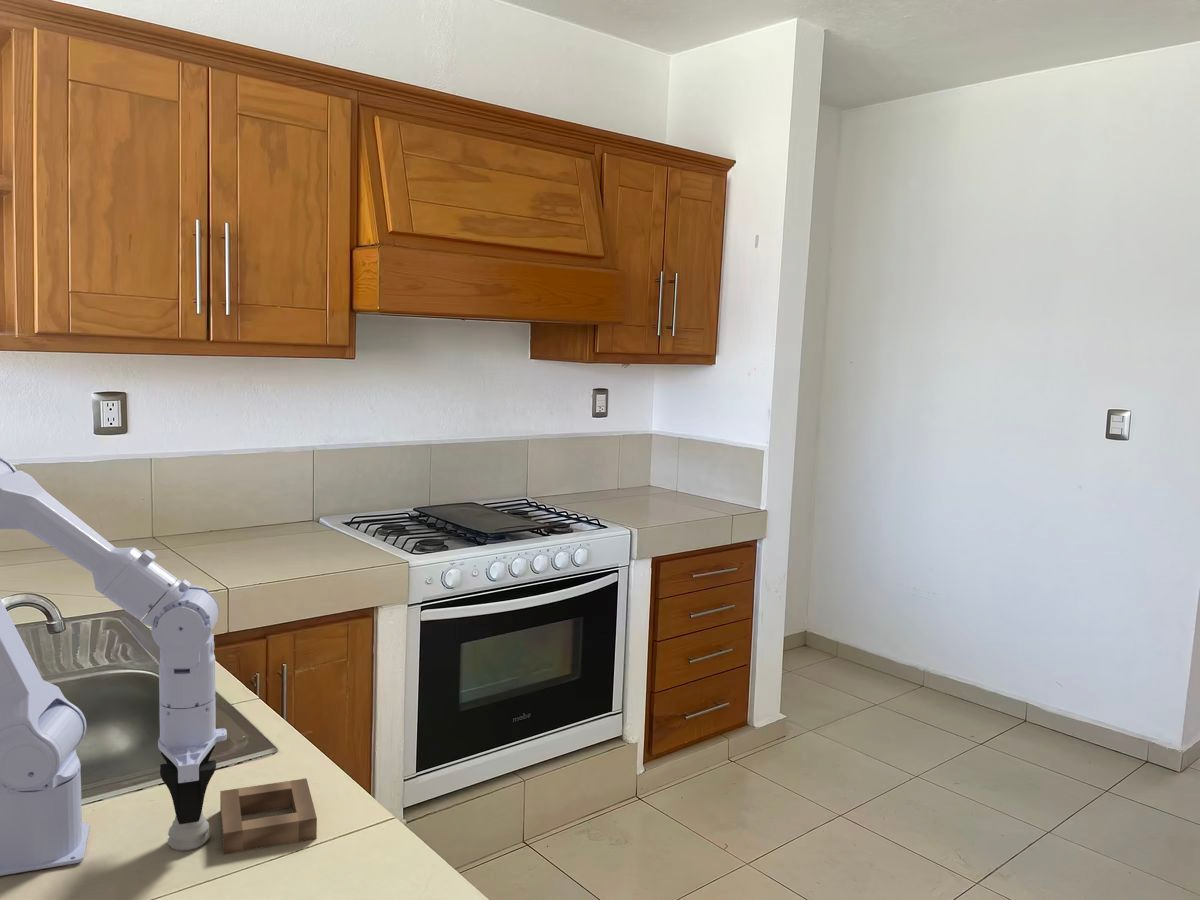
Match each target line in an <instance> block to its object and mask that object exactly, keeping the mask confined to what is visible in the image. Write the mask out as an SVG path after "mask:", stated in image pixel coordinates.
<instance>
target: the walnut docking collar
mask: <svg viewBox="0 0 1200 900" xmlns="http://www.w3.org/2000/svg"><path fill="white" fill-rule="evenodd" d="M308 783H309V781H308V778H299V779H294V780H287V781H280V782H273V783H266V784H259V785H252V786H246V787H239V788H238V787H237V788H233V789H225V790H220V791H219V792H220V795H219V797H220V805H219V806H220V810H219V811H220V820H221V821H220V823H221V826H220V827H221V838H222V839H221V840H222V851H223V852H222V853H223V855H227V854H235V853H240V852H245V851H251V850H257V849H263V848H269V847H274V846H279V845H280V846H281V845H286V844H291V843H297V842H303V841H309V840H314V839H317V836H318V835H317V832H318V828H317V827H318V822H317V821H318V819H317V818H318V817H317V813H316V809H315V806H314V802H313V797H312V795H311V790H310V787H309V784H308ZM290 808H291V812H292V813H285V814H279V815H273V816H266V817H260V818H254V819H247V820H242V816H247V815H252V814H259V813H265V812H271V811H277V810H285V809H290Z"/></svg>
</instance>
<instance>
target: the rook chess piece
mask: <svg viewBox="0 0 1200 900" xmlns="http://www.w3.org/2000/svg"><path fill="white" fill-rule="evenodd" d="M209 830H210V824H209V821H208V820H207V819H206V816H204V814H203V811H202V812H201V816H200V819H199V821H198V822H192V823H186V824H179V823H178V820H177V817H176V816H175V817H174V819H173V821H172V825H171V826H170V827H169V829H168V834H167V835H168V838H167V843H168V845H169V846H170V847H171V848H172V849H173V850H176V851H180V852H185V851H194V850H195V849H198V848H201V847H202V846H204V845H205V843H207V841H208V840H209V839H210V837H211V832H210V831H209Z"/></svg>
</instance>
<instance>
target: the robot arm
mask: <svg viewBox="0 0 1200 900" xmlns="http://www.w3.org/2000/svg"><path fill="white" fill-rule="evenodd" d="M0 530H24V531H26V532H28V534H29V533H30V534H31V535H33V536H34V537H35V538H37V539H39V540H40V541H42V542H44V543H45V544H47V545H49V546H50V547H52V548H53V549H55V550H57V551H58V552H59V553H61V554H63V555H64V556H65V557H67V558H68V559H71V560H72V561H74V562H75V563H77V564H78V565H80V566H82V567H83V568H85V569H86V570H88V571H90V572H91V574H92V578H93V583H94V589H95V590H96V591H97V592H98V593H100V594H101V595H102V596H103V597H106V598H107V599H108V600H110V601H111V602H113V603H114V604H115V605H117V606H118V607H119V608H121V609H123V610H124V611H125V612H126V613H128V614H129V615H131V616H132V617H134V618H135V619H137V620H138V621H140V622H141V623H142V624H143V625H145V626H148V627H150V628H151V629H150V633H151V637H152V639H153V642H154V643H155V644H156V646H157V647H158V648H159V663H158V675H159V676H158V687H159V689H158V690H159V691H158V692H159V693H158V694H159V697H158V698H159V702H158V703H159V738H158V739H157V748H158V750H159V751H160V752H161V753H160V754H161V756H162V758H163V759H164V761H165V762H166V763H161V764H160V766H159V775H160V778H161V780H162V781H163V783H164V785H165V786H166V787H167V789H168V791H169V793H170V796H171V799H172V803H173V807H174V808H173V809H174V812H175V817H177V820H178V823H179V824H186V823H192V822H198V821H199V819H200V816H201V812H202V813H203V807H204V802H205V800H204V799H205V795H206V792H207V788H208V785H209V783H210V782H211V779H212V778H213V775H214V773H215V771H216V769H217V760H216V759H214V760H210V758H211V755H212V753H213V751H214V749H215V748H216V744H217V743H218V742H224V741H226V740H227V738H228V733H227V728H216V722H217V721H216V720H217V719H216V718H217V717H216V709H217V708H216V705H217V704H216V655H215V652H214V651H215V641H214V639H215V634H214V633H213V632H212V631H213V629H214V627H215V626H216V624H217V622H218V619H219V614H220V613H219V612H220V607H219V604H218V602H217V600H216V598H215V597H214V595H212V594H211V593H210V592H209V590H208V589H207V588H205V587H203V586H199V585H192V583H191V582H190V581H188V580H187V579H183V580H180V579H178V577H176V576H175V575H173V574H172V573H170V572H169V571H167V569H165V568H164V567H162V566H161V565H160V564H158V563H157V562H155V561H154V560H155V559H156V558H157V555H156V554H155V553H153V552H152V551H151V550H149V549H145V550H144V551H143V552H142V551H141V550H140V549H138V548H136V547H133V546H131V547H115V546H114V544H112V543H110V542H109V541H108V540H106V538H104V537H103V536H102V535H100V534H99V533H98V532H97V531H96V530H94V529H93V527H91V526H90V525H88V524H87V523H85V522H84V521H83V520H82V519H81V518H79V517H78V516H77V515H76V514H74V513H73V512H72V511H71V510H70V509H69V508H67V507H66V506H65V505H64V504H62V503H61V502H60V501H58V499H56V498H55V497H54V496H52V495H51V494H50V493H48V492H47V491H46V490H45V489H44V488H43V487H42V486H41V484H39V483H38V482H37V480H36V479H35V478H34V477H33V476H32V475H30V474H29V473H27V472H25V471H23V470H21V469H20V470H17V468H16V467H15V466H14V465H13V464H12V463H11V462H10V461H9V460H7V459H5V458H4V457H1V456H0ZM86 733H87V720H86V717H85V715H84V713H83V712H82V710H81V709H80V708H79V707H78V706H76V705H75V704H73V703H72V702H70V701H69V700H68V699H67V698H66V697H65V696H64V693H63V692H62V691H61V689H60V687H59V686H57V685H55V684H53V683H51V682H48V681H46V680H45V679H43V678H42V676H41V673H40V671H39V670H38V667H37V666H36V664H35V662H34V660H33V658H32V656H31V654H30V652H29V650H28V649H27V647H26V644H25V643H24V641H23V639H22V637H21V635H20V633H19V631H18V629H17V628H16V626H15V624H14V622H13V619H12V618H11V616H10V613H9V612H8V610H7V608H6V605H5V604H4V602H3V601H2V599H1V598H0V877H1V876H7V875H12V874H19V873H26V872H30V871H37V870H43V869H48V868H49V869H50V868H55V867H61V866H68V865H72V864H74V865H75V864H79V863H81V862H83V861H84V858H85V852H86V847H87V846H86V845H87V843H88V842H87V840H88V836H89V831H90V823H89V822H83V816H82V815H83V814H82V812H83V810H82V777H81V775H82V773H81V769H82V768H81V767H82V766H81V760H80V759H79V757H78V755H77V748H76V747H77V746H78V745H80V744H81V742H82V741H83V739H85V738H84V737H85V736H86Z"/></svg>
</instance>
